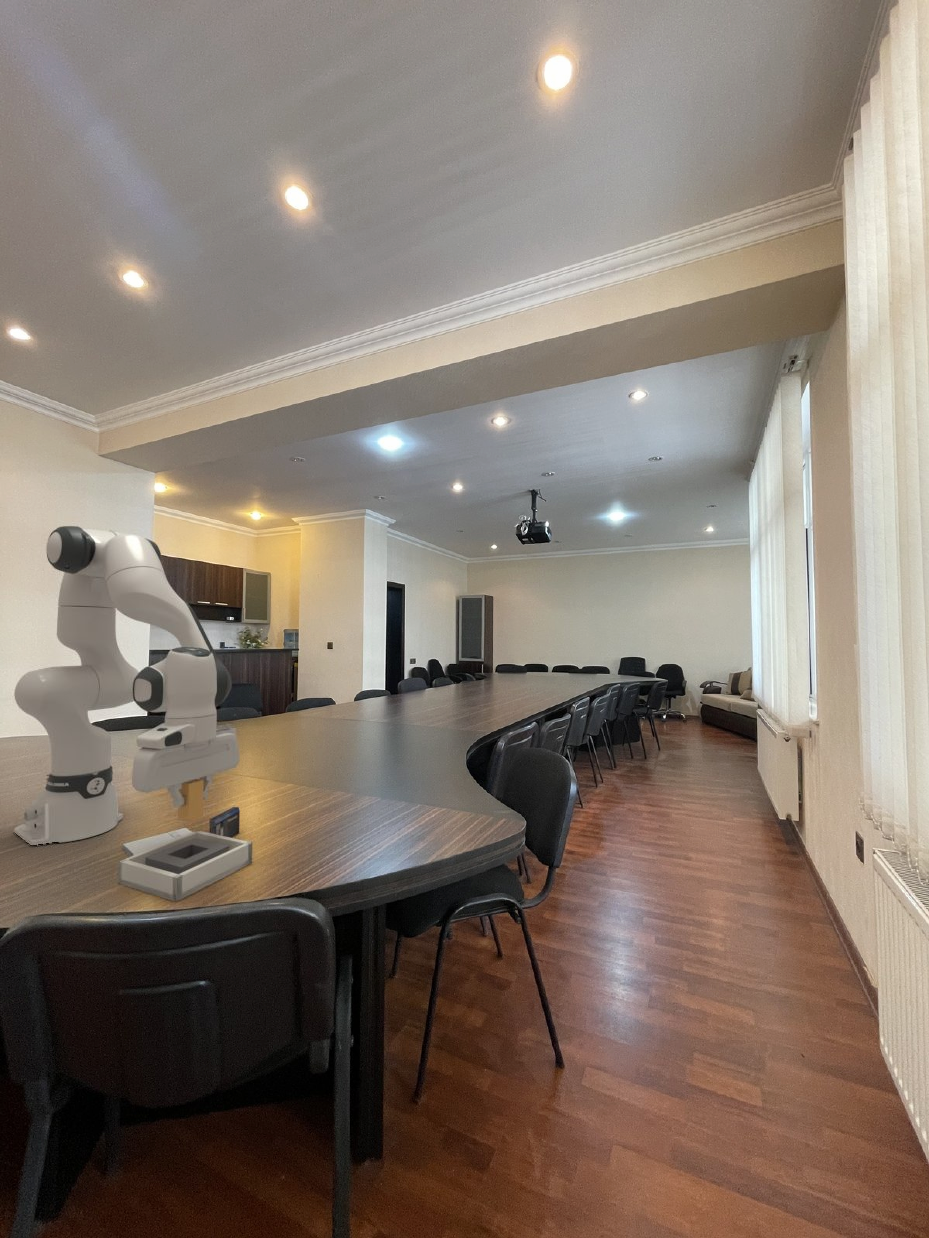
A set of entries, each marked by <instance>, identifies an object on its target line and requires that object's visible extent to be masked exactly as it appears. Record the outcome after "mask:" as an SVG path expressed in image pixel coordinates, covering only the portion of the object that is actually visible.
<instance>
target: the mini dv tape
mask: <svg viewBox="0 0 929 1238" xmlns="http://www.w3.org/2000/svg"><path fill="white" fill-rule="evenodd" d="M240 812H241V810H240V807H239V806H232V807H231V808H229V809H227V810H225V811H223V812H220V813H218V815H216V816H213V817H211V818H209V825H208V826H209V828H208V829H209V830H208V831H209V832H208V833H212V834H216V835H221V836H225V837H230V838H234V837H236V836H238V835H239V834H240V814H241V813H240ZM233 836H234V837H233Z"/></svg>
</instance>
